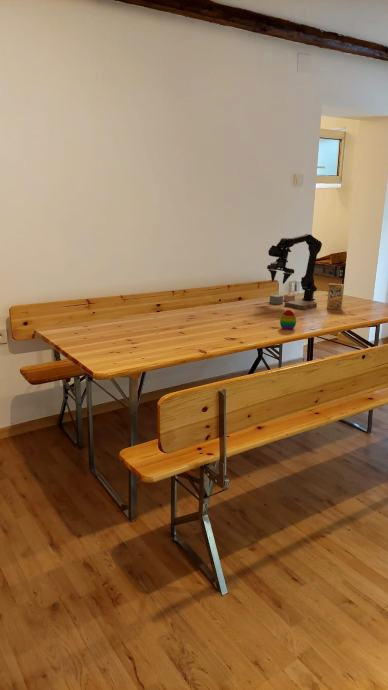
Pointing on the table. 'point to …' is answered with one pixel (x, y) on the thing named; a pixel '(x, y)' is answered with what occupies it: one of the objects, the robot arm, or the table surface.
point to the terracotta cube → (289, 297)
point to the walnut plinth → (300, 304)
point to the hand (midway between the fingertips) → (277, 282)
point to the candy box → (335, 296)
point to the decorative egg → (288, 320)
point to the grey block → (276, 299)
